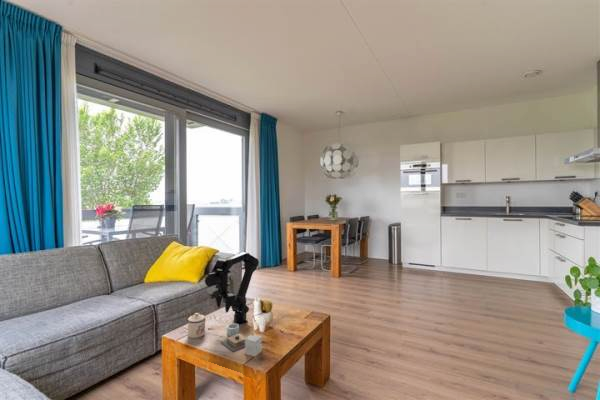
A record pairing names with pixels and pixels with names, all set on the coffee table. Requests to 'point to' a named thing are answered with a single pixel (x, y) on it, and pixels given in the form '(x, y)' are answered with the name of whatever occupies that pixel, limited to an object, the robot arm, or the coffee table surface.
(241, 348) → the mat
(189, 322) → the teacup with lid
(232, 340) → the lid
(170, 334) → the coffee table surface
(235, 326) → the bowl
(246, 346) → the skincare box
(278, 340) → the coffee table surface
